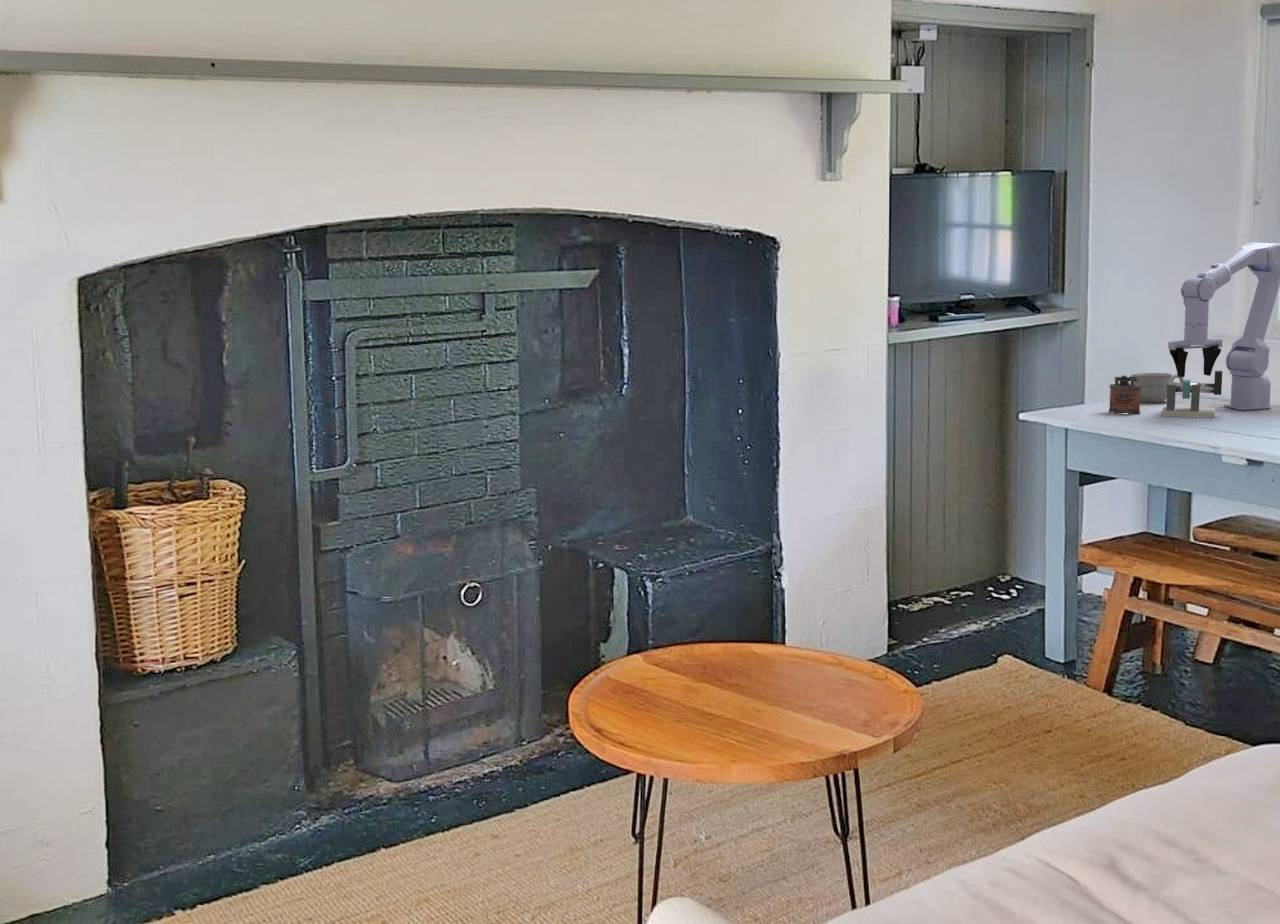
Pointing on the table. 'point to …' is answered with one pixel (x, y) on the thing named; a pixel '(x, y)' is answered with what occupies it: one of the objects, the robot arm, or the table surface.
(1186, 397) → the spacer
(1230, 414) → the table surface
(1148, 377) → the teacup
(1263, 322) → the robot arm
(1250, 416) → the table surface
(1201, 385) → the shaft
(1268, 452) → the table surface
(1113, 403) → the lighter
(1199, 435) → the table surface
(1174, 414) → the shaft stand
